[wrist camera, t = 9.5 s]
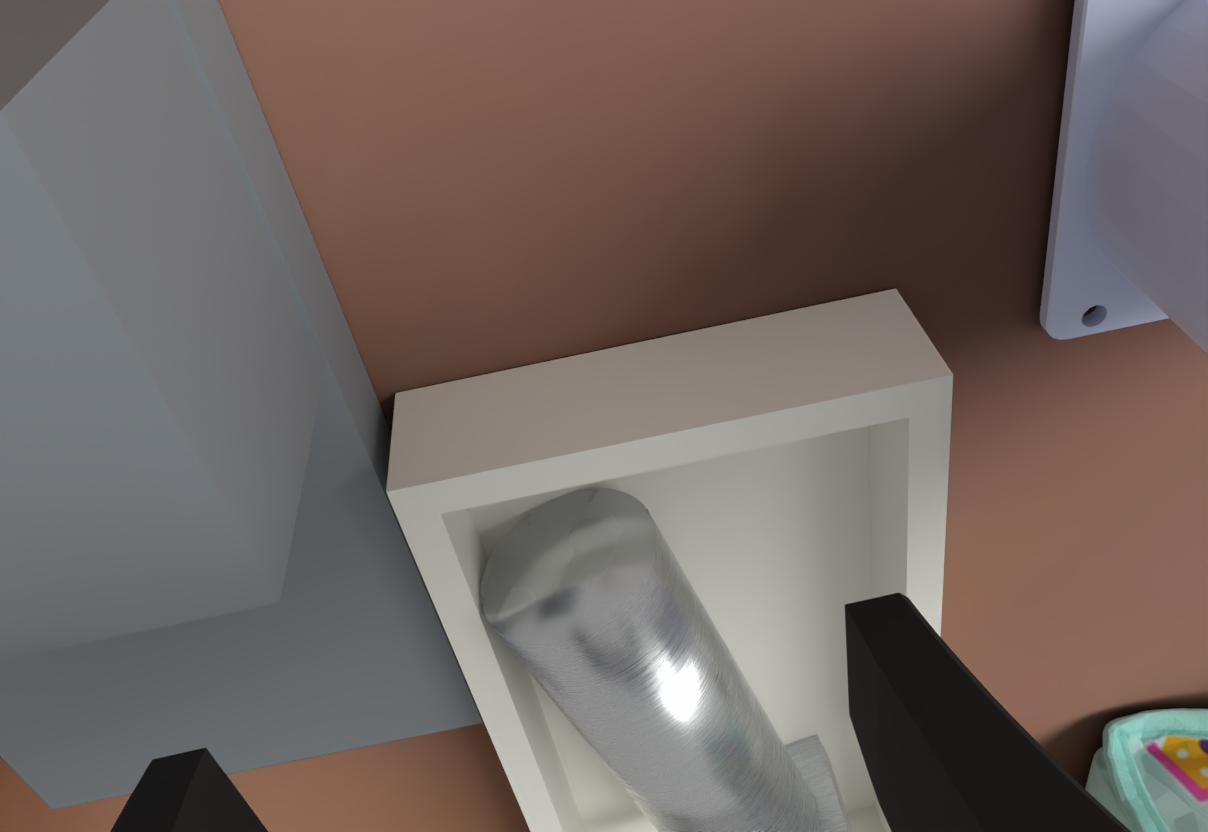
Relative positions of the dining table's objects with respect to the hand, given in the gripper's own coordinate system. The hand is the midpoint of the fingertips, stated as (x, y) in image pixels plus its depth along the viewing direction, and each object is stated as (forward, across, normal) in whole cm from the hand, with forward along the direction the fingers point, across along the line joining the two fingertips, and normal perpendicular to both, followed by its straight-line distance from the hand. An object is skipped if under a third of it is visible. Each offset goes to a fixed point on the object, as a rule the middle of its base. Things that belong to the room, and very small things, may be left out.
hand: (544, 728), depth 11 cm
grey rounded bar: (+10, -1, +11) cm, 15 cm away
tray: (+10, -3, +12) cm, 16 cm away
